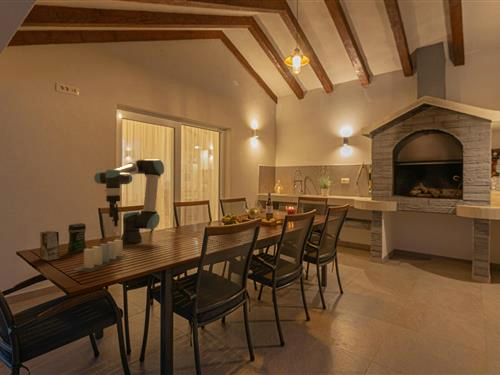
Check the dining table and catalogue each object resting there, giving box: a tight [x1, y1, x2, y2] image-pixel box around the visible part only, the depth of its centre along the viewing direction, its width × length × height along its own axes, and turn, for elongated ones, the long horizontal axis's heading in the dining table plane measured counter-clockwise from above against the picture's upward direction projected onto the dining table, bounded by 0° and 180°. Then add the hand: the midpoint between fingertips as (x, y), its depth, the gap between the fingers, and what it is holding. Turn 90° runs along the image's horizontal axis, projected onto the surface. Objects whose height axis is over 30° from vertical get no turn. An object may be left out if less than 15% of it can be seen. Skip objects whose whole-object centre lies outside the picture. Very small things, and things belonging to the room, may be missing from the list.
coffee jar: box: [67, 223, 87, 254], centre depth 173 cm, size 10×8×19 cm
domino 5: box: [113, 239, 124, 257], centre depth 164 cm, size 2×5×10 cm, turn 76°
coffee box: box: [39, 230, 60, 262], centre depth 158 cm, size 9×6×16 cm
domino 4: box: [106, 241, 116, 259], centre depth 159 cm, size 2×5×10 cm, turn 76°
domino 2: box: [91, 245, 102, 265], centre depth 148 cm, size 2×5×10 cm, turn 76°
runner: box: [71, 254, 130, 273], centre depth 152 cm, size 30×12×1 cm, turn 166°
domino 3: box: [99, 243, 109, 262], centre depth 154 cm, size 2×5×10 cm, turn 76°
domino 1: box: [83, 248, 94, 268], centre depth 143 cm, size 2×5×10 cm, turn 76°
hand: (113, 229), depth 160 cm, fingers open, 13 cm apart
